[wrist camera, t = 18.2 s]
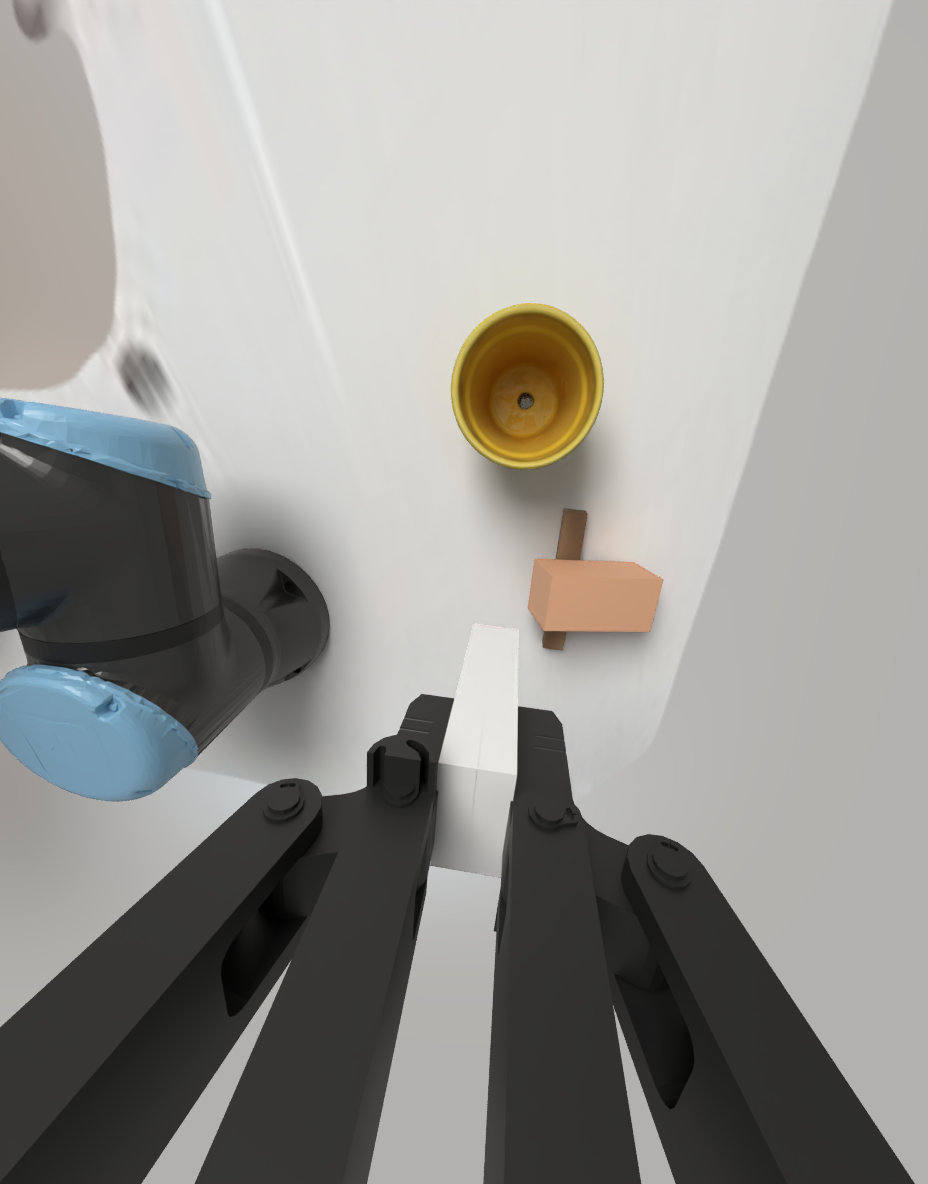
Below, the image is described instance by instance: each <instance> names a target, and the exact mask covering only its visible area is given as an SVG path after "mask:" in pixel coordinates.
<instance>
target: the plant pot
mask: <svg viewBox="0 0 928 1184" xmlns="http://www.w3.org/2000/svg"><path fill="white" fill-rule="evenodd" d="M603 388H604V377H603V368H602V363H601V359H600V356H599V353H598V350H597V348H596V346H595V344H594V342H593V340H592V338H591V337H590V335H589V334H588V332H587V331H586V330H585V329H584V327H583V326H582V325H581V324H580V323H579V322H577V321H576V320H575V319H574V318H573V317H571V316H570V315H569V314H567V313H565V312H563V311H561V310H560V309H557V308H555V307H552V306H548V305H544V304H535V303H526V304H518V305H514V306H510V307H507V308H504V309H502V310H499V311H498V312H496V313H494V314H492V315H491V316H489V317H488V318H486V319H485V320H484V321H482V322H481V323H480V324H479V325H478V326H477V327H476V328H475V329H474V330H473V331H472V333H471V334H470V335H469V337H468V338H467V339H466V341H465V342H464V344H463V346H462V348H461V350H460V352H459V354H458V357H457V359H456V362H455V366H454V369H453V374H452V382H451V399H452V407H453V411H454V415H455V418H456V421H457V423H458V426H459V428H460V430H461V432H462V433H463V435H464V436H465V438H466V439H467V441H468V442H469V443H470V444H471V445H472V447H473V448H474V449H475V450H477V451H478V452H479V453H480V454H481V455H483V456H484V457H485V458H487V459H489V460H490V461H492V462H494V463H496V464H498V465H501V466H504V467H508V468H513V469H536V468H541V467H544V466H548V465H550V464H553V463H555V462H557V461H559V460H561V459H562V458H564V457H565V456H567V455H568V454H569V453H571V452H572V451H573V450H574V449H575V448H576V447H577V446H578V445H579V444H580V443H581V442H582V441H583V440H584V438H585V437H586V436H587V434H588V433H589V431H590V430H591V428H592V426H593V424H594V422H595V420H596V418H597V416H598V413H599V410H600V407H601V403H602V397H603ZM524 393H527V394H529V395H530V396H531V397H532V398H533V404H532V405H531V407H530V408H527V409H523V408H521V407H520V406H519V403H518V400H519V397H520V396H521V395H522V394H524Z"/></svg>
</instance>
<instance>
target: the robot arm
mask: <svg viewBox="0 0 928 1184" xmlns="http://www.w3.org/2000/svg"><path fill="white" fill-rule="evenodd" d="M209 499H211V495H210V492H209V491H208V490H207V488H206V484H205V480H204V475H203V469H202V464H201V459H200V454H199V451H198V448H197V446H196V444H195V443H194V441H193V440H192V439H191V438H190V437H189V436H188V435H187V434H186V433H184V432H183V431H181V430H180V429H178V428H175V427H173V426H170V425H166V424H161V423H156V422H151V421H146V420H140V419H135V418H129V417H123V416H117V415H111V414H105V413H99V412H93V411H87V410H81V409H74V408H68V407H62V406H56V405H49V404H42V403H35V402H25V401H21V400H14V399H7V398H0V632H3V631H7V630H12V629H17V630H18V632H19V635H20V638H21V641H22V645H23V648H24V652H25V654H26V658H27V662H28V663H27V666H22V667H19V668H16V669H14V670H12V671H10V672H9V673H7V674H6V676H5V677H4V679H2V680H1V681H0V740H1V742H2V743H3V744H4V745H5V747H6V748H7V749H8V750H9V751H10V752H11V753H12V754H13V755H14V756H15V757H16V758H17V759H18V760H19V761H20V762H21V763H22V764H24V765H25V766H26V767H27V768H29V769H30V770H31V771H33V772H34V773H35V774H37V775H39V776H40V777H42V778H44V779H46V780H47V781H48V782H50V783H52V784H54V785H56V786H58V787H60V788H62V789H64V790H66V791H69V792H71V793H74V794H77V795H80V796H83V797H87V798H92V799H97V800H105V801H127V800H134V799H138V798H141V797H144V796H147V795H149V794H152V793H153V792H155V791H156V790H158V789H159V788H161V787H162V786H163V785H165V784H166V783H167V782H168V781H169V780H170V779H171V778H172V777H174V776H175V775H176V774H177V773H178V772H179V771H180V770H182V769H183V768H186V767H187V766H189V765H190V764H192V763H193V762H194V761H195V759H196V758H197V757H198V755H199V754H200V753H201V752H202V751H203V750H204V749H205V748H206V747H207V746H208V745H209V744H210V743H211V742H212V741H213V740H214V739H215V738H216V737H217V736H218V735H219V734H220V733H221V732H222V731H223V730H224V729H225V728H226V727H227V726H228V725H229V723H230V722H231V721H232V720H233V719H234V718H235V717H236V716H237V715H238V714H239V713H240V712H241V711H242V710H243V709H244V708H245V707H246V706H247V705H248V704H249V703H250V702H251V701H252V700H253V699H254V698H255V697H256V696H257V695H258V694H259V693H260V692H261V691H262V690H264V689H266V688H269V687H271V686H274V685H276V684H279V683H281V682H284V681H286V680H289V679H291V678H293V677H295V676H297V675H299V674H300V673H302V672H303V671H304V670H305V669H307V668H308V667H309V666H310V665H311V663H312V662H313V661H314V660H315V659H316V658H317V657H318V656H319V654H320V653H321V651H322V650H323V648H324V646H325V643H326V641H327V637H328V632H329V617H328V611H327V607H326V604H325V601H324V599H323V597H322V594H321V592H320V591H319V589H318V587H317V586H316V584H315V583H314V582H313V580H312V579H311V578H310V577H309V576H308V575H307V573H306V572H304V571H303V570H302V569H301V568H300V567H299V566H298V565H296V564H295V563H293V562H292V561H290V560H289V559H287V558H285V557H283V556H281V555H279V554H276V553H273V552H270V551H266V550H261V549H242V550H237V551H233V552H230V553H228V554H226V555H223V556H221V557H218V558H216V551H215V543H214V536H213V528H212V520H211V512H210V505H209ZM518 650H519V629H514V628H506V627H498V626H490V625H482V624H474V623H473V627H472V631H471V635H470V639H469V643H468V647H467V651H466V655H465V659H464V663H463V667H462V671H461V675H460V679H459V683H458V687H457V691H456V695H455V699H454V698H447V697H439V696H432V695H425V694H421V695H420V696H419V697H418V698H416V699H415V700H414V701H413V702H412V703H410V705H409V707H408V710H407V712H406V714H405V718H404V719H403V722H402V724H401V727H400V730H399V731H398V734H397V735H394V736H390V737H386V738H383V739H381V740H380V741H378V742H376V743H375V744H373V746H372V747H371V748H370V749H369V751H368V752H367V787H365V788H363V789H361V790H358V791H356V792H352V793H347V794H341V795H332V796H323V797H322V795H321V793H320V791H319V789H318V787H317V786H316V785H314V784H313V783H311V782H310V781H308V780H303V779H298V778H294V779H284V780H280V781H277V782H274V783H272V784H269V785H267V786H266V787H264V788H263V789H261V790H260V791H258V792H257V793H256V794H255V795H253V797H251V798H250V799H249V800H248V801H247V802H246V803H245V804H244V805H243V806H241V807H240V808H239V809H238V810H237V811H236V812H235V813H234V814H233V815H232V816H231V817H229V818H228V819H227V820H226V821H225V822H224V823H223V824H222V825H221V826H220V827H219V828H218V829H216V830H215V831H214V832H213V833H212V834H211V835H210V836H209V837H208V838H207V839H205V840H204V841H203V842H202V843H201V844H200V845H199V846H198V847H197V848H196V849H195V850H194V851H192V852H191V853H190V854H189V855H188V856H187V857H186V858H185V859H184V860H183V861H181V862H180V863H179V864H178V865H177V866H176V867H175V868H174V869H173V870H172V871H170V872H169V873H168V874H167V875H166V876H165V877H164V878H163V879H162V880H161V881H160V882H158V883H157V884H156V885H155V886H154V887H153V888H152V889H151V890H150V891H149V892H148V893H146V894H145V895H144V896H143V897H142V898H141V899H140V900H139V901H138V902H137V903H136V904H135V905H133V906H132V907H131V908H130V909H129V910H128V911H127V912H126V913H125V914H124V915H122V916H121V917H120V918H119V919H118V920H117V921H116V922H115V923H114V924H113V925H112V926H110V927H109V928H108V929H107V930H106V931H105V932H104V933H103V934H102V935H101V936H100V937H98V938H97V939H96V940H95V941H94V942H93V943H92V944H91V945H90V946H89V947H87V948H86V949H85V950H84V951H83V952H82V953H81V954H80V955H79V956H78V957H77V958H75V960H73V961H72V962H71V963H70V964H69V965H68V966H67V967H66V968H65V969H64V970H62V971H61V972H60V973H59V974H58V975H57V976H56V977H55V978H54V979H53V980H51V981H50V983H48V984H47V985H46V986H45V987H44V988H43V989H42V990H41V991H40V992H38V993H37V994H36V995H35V996H34V997H33V998H32V999H31V1000H30V1001H29V1002H28V1003H26V1004H25V1005H24V1006H23V1007H22V1008H21V1009H20V1010H19V1011H18V1012H17V1013H16V1014H14V1015H13V1016H12V1017H11V1018H10V1019H9V1020H8V1021H7V1022H6V1023H5V1024H4V1025H2V1026H1V1027H0V1184H141V1183H142V1182H143V1180H144V1179H145V1177H146V1176H147V1174H148V1173H149V1171H150V1170H151V1168H152V1167H153V1165H154V1164H155V1162H156V1161H157V1159H158V1158H159V1156H160V1155H161V1153H162V1152H163V1150H164V1149H165V1147H166V1146H167V1144H168V1143H169V1141H170V1140H171V1138H172V1137H173V1135H174V1134H175V1132H176V1131H177V1130H178V1128H179V1126H180V1125H181V1124H182V1122H183V1121H184V1119H185V1118H186V1116H187V1115H188V1113H189V1112H190V1110H191V1109H192V1107H193V1106H194V1104H195V1103H196V1101H197V1100H198V1098H199V1097H200V1095H201V1094H202V1092H203V1091H204V1089H205V1088H206V1086H207V1085H208V1083H209V1082H210V1080H211V1079H212V1077H213V1076H214V1074H215V1073H216V1071H217V1070H218V1068H219V1067H220V1065H221V1064H222V1062H223V1061H224V1059H225V1058H226V1056H227V1055H228V1053H229V1052H230V1050H231V1049H232V1048H233V1046H234V1045H235V1043H236V1042H237V1040H238V1039H239V1037H240V1035H241V1034H242V1032H243V1031H244V1030H245V1028H246V1027H247V1025H248V1024H249V1022H250V1020H251V1019H252V1018H253V1016H254V1015H255V1013H256V1012H257V1010H258V1009H259V1007H260V1006H261V1004H262V1003H263V1001H264V1000H265V998H266V997H267V995H268V994H269V992H270V991H271V989H272V988H273V986H274V985H275V983H276V982H277V980H278V979H279V977H280V976H281V974H282V973H283V971H284V970H285V968H286V967H287V965H288V964H289V962H290V961H291V963H290V965H289V967H288V970H287V972H286V975H285V977H284V979H283V981H282V984H281V986H280V988H279V990H278V993H277V995H276V997H275V1000H274V1002H273V1004H272V1007H271V1009H270V1011H269V1014H268V1016H267V1018H266V1020H265V1023H264V1025H263V1027H262V1030H261V1032H260V1035H259V1037H258V1039H257V1041H256V1044H255V1046H254V1048H253V1051H252V1053H251V1055H250V1058H249V1060H248V1062H247V1065H246V1067H245V1069H244V1071H243V1074H242V1076H241V1078H240V1081H239V1083H238V1085H237V1087H236V1090H235V1092H234V1094H233V1097H232V1099H231V1101H230V1103H229V1106H228V1108H227V1110H226V1113H225V1115H224V1118H223V1120H222V1122H221V1124H220V1127H219V1129H218V1131H217V1134H216V1136H215V1138H214V1140H213V1143H212V1145H211V1148H210V1150H209V1152H208V1154H207V1157H206V1159H205V1161H204V1164H203V1166H202V1168H201V1171H200V1173H199V1175H198V1177H197V1180H196V1182H195V1184H367V1181H368V1175H369V1171H370V1166H371V1161H372V1156H373V1151H374V1146H375V1141H376V1136H377V1132H378V1127H379V1122H380V1117H381V1112H382V1107H383V1102H384V1097H385V1092H386V1087H387V1082H388V1078H389V1073H390V1067H391V1062H392V1057H393V1053H394V1048H395V1043H396V1038H397V1033H398V1029H399V1024H400V1019H401V1014H402V1009H403V1004H404V999H405V994H406V989H407V984H408V979H409V974H410V970H411V964H412V960H413V955H414V950H415V945H416V940H417V935H418V930H419V925H420V921H421V916H422V911H423V906H424V901H425V896H426V888H427V876H428V870H429V866H436V867H441V868H448V869H453V870H458V871H464V872H470V873H476V874H481V875H487V876H493V877H498V878H501V889H500V895H499V901H498V908H497V914H496V921H495V927H494V931H496V932H497V933H496V953H495V971H494V990H493V1009H492V1029H491V1048H490V1068H489V1086H488V1106H487V1107H488V1108H487V1126H486V1144H485V1163H484V1183H483V1184H641V1179H640V1173H639V1167H638V1161H637V1155H636V1148H635V1142H634V1135H633V1129H632V1123H631V1116H630V1110H629V1104H628V1097H627V1091H626V1086H625V1078H624V1072H623V1066H622V1060H621V1053H620V1047H619V1041H618V1034H617V1028H616V1022H615V1015H614V1009H615V1012H616V1014H617V1017H618V1020H619V1023H620V1026H621V1029H622V1031H623V1034H624V1037H625V1040H626V1043H627V1046H628V1049H629V1052H630V1054H631V1057H632V1060H633V1063H634V1066H635V1069H636V1072H637V1074H638V1077H639V1080H640V1083H641V1086H642V1088H643V1092H644V1094H645V1097H646V1100H647V1103H648V1106H649V1109H650V1112H651V1114H652V1117H653V1120H654V1123H655V1126H656V1129H657V1131H658V1134H659V1137H660V1140H661V1143H662V1146H663V1149H664V1152H665V1154H666V1157H667V1160H668V1163H669V1166H670V1169H671V1172H672V1175H673V1177H674V1180H675V1183H676V1184H915V1183H914V1182H913V1180H912V1179H911V1177H910V1176H909V1174H908V1173H907V1171H906V1170H905V1169H904V1167H903V1165H902V1164H901V1162H900V1161H899V1159H898V1158H897V1156H896V1155H895V1153H894V1152H893V1150H892V1149H891V1147H890V1146H889V1145H888V1143H887V1141H886V1140H885V1138H884V1137H883V1135H882V1134H881V1132H880V1131H879V1129H878V1128H877V1126H876V1125H875V1123H874V1122H873V1120H872V1119H871V1117H870V1116H869V1114H868V1113H867V1111H866V1110H865V1108H864V1107H863V1105H862V1104H861V1102H860V1101H859V1099H858V1098H857V1096H856V1095H855V1093H854V1092H853V1090H852V1089H851V1087H850V1086H849V1084H848V1083H847V1081H846V1080H845V1078H844V1077H843V1075H842V1074H841V1072H840V1071H839V1069H838V1068H837V1066H836V1064H835V1063H834V1061H833V1060H832V1058H831V1057H830V1056H829V1054H828V1053H827V1051H826V1049H825V1048H824V1046H823V1045H822V1043H821V1042H820V1040H819V1039H818V1037H817V1036H816V1034H815V1033H814V1031H813V1030H812V1028H811V1027H810V1025H809V1024H808V1022H807V1021H806V1019H805V1018H804V1016H803V1015H802V1013H801V1012H800V1010H799V1009H798V1007H797V1006H796V1004H795V1003H794V1001H793V1000H792V998H791V997H790V995H789V994H788V992H787V991H786V989H785V988H784V986H783V985H782V983H781V982H780V980H779V979H778V977H777V976H776V974H775V973H774V971H773V970H772V968H771V967H770V965H769V964H768V962H767V961H766V959H765V958H764V956H763V955H762V953H761V952H760V950H759V949H758V947H757V946H756V944H755V943H754V941H753V940H752V938H751V937H750V935H749V934H748V932H747V931H746V929H745V928H744V926H743V925H742V923H741V921H740V920H739V919H738V917H737V915H736V914H735V912H734V911H733V909H732V908H731V906H730V905H729V903H728V902H727V900H726V899H725V897H724V896H723V894H722V893H721V891H720V890H719V888H718V887H717V885H716V884H715V882H714V881H713V879H712V878H711V876H710V875H709V873H708V872H707V870H706V869H705V867H704V866H703V865H702V864H701V862H700V861H699V860H698V859H697V858H696V857H695V856H694V854H693V853H692V852H690V851H689V850H687V849H686V848H685V847H683V846H682V845H680V844H679V843H678V842H675V841H673V840H671V839H668V838H666V837H664V836H658V835H651V834H647V835H644V836H639V837H636V838H635V839H634V840H633V842H631V843H630V845H626V844H624V843H622V842H620V841H617V840H615V839H613V838H611V837H608V836H606V835H605V834H603V833H601V832H599V831H597V830H596V829H594V828H593V827H592V826H591V825H589V824H588V823H587V822H586V821H585V820H584V819H583V818H582V815H581V813H580V810H579V809H578V808H577V807H576V806H575V804H574V802H573V798H572V791H571V784H570V777H569V770H568V763H567V756H566V748H565V741H564V734H563V727H562V724H561V722H560V721H559V719H558V718H557V717H556V715H555V714H554V713H553V711H548V710H540V709H533V708H526V707H519V706H518ZM430 861H431V863H430ZM430 864H431V865H430ZM613 1006H614V1009H613Z"/></svg>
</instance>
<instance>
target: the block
mask: <svg viewBox="0 0 928 1184" xmlns="http://www.w3.org/2000/svg"><path fill="white" fill-rule="evenodd" d="M662 583H663V579H662V578H660V577H658V576H657V575H655V574H653V573H652V572H650V571H648V570H646V569H645V568H643V567H641V566H640V565H638V564H636V563H634V562H611V561H584V560H558V559H535V560H534V567H533V574H532V582H531V589H530V596H529V603H528V609H529V611H530V612H531V614H532V615H533V616H534V618H535V619H536V621H537V622H538V623H539V625H540V626H541V628H542V629H543V630H544V631H607V632H650V631H651V627H652V623H653V619H654V615H655V611H656V607H657V603H658V599H659V595H660V591H661V587H662Z"/></svg>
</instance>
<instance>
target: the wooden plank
mask: <svg viewBox="0 0 928 1184" xmlns="http://www.w3.org/2000/svg"><path fill="white" fill-rule="evenodd" d="M586 519H587V512H586V511H582V510H572V509H564V510H563V517H562V523H561V529H560V535H559V541H558V548H557V554H556V559H558V560H579V558H580V552H581V547H582V541H583V536H584V530H585V525H586ZM565 635H566V631H544V634H543V640H542V643H543V648H549V649H557V650H563V646H564V640H565Z"/></svg>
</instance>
